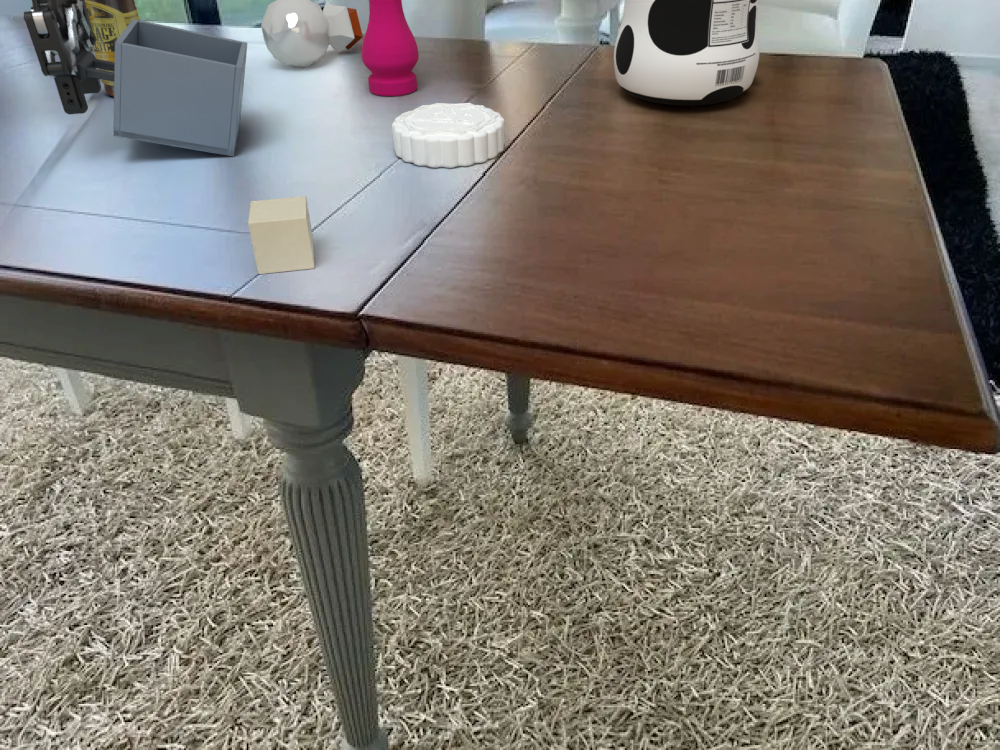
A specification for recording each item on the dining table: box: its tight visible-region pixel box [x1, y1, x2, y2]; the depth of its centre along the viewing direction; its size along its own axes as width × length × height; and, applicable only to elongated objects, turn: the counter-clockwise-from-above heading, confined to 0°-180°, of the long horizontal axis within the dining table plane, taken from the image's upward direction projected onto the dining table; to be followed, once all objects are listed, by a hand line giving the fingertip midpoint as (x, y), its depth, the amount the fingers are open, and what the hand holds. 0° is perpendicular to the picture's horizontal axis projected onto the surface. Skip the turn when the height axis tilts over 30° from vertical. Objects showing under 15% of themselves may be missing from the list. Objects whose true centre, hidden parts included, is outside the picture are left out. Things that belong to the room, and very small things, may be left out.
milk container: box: [613, 0, 761, 107], centre depth 101 cm, size 17×17×18 cm
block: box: [247, 195, 316, 275], centre depth 70 cm, size 4×4×4 cm
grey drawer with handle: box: [76, 19, 248, 157], centre depth 91 cm, size 17×11×10 cm, turn 101°
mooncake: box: [391, 102, 506, 169], centre depth 91 cm, size 12×12×4 cm
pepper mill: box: [361, 0, 420, 97], centre depth 106 cm, size 7×7×20 cm
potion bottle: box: [260, 0, 364, 68], centre depth 122 cm, size 9×10×15 cm
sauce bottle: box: [85, 0, 140, 98], centre depth 107 cm, size 7×6×20 cm
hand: (84, 102), depth 91 cm, fingers open, 7 cm apart
